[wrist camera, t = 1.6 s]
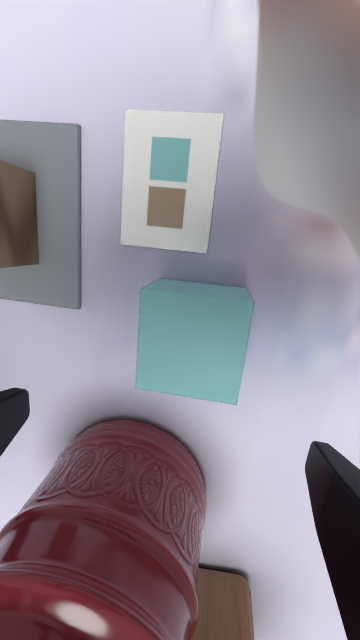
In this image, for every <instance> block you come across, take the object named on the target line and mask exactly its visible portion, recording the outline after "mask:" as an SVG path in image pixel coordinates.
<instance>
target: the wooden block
mask: <svg viewBox="0 0 360 640" xmlns="http://www.w3.org/2000/svg"><path fill="white" fill-rule="evenodd" d="M197 599H198V607H199V612H198V621H197V626H196V629H195V632H194V634H193V636H192V638H191V640H254V631H253V617H252V604H251V591H250V589H249V586H248V584H247V581H246V578H244V577H242V576H241V575H239V574H233V573H227V572H221V571H214V570H208V569H202V568H199V570H198V582H197Z"/></svg>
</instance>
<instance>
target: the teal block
mask: <svg viewBox="0 0 360 640" xmlns="http://www.w3.org/2000/svg"><path fill="white" fill-rule="evenodd" d="M253 306H254V301H253V299H252V297H251V295H250V293H249V291H248V289H247V288H242V287H233V286H224V285H216V284H207V283H198V282H189V281H180V280H172V279H163V278H160V279H158V280H157V281H155V282H153V283H151V284H149V285H147V286H145V287H143V288H142V289H141V291H140V310H139V329H138V348H137V367H136V386H135V388H137V389H143V390H149V391H155V392H161V393H167V394H173V395H179V396H185V397H191V398H197V399H203V400H209V401H215V402H221V403H227V404H233V405H237V401H238V395H239V389H240V383H241V377H242V371H243V366H244V360H245V354H246V348H247V342H248V336H249V330H250V324H251V318H252V312H253Z"/></svg>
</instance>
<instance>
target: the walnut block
mask: <svg viewBox="0 0 360 640" xmlns="http://www.w3.org/2000/svg"><path fill="white" fill-rule="evenodd" d="M35 264H39V249H38V224H37V200H36V176H35V173H33V172H31V171H28V170H25V169H23V168H20V167H17V166H15V165H12V164H9V163H7V162H4V161H1V160H0V268H7V267H17V266H26V265H35Z"/></svg>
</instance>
